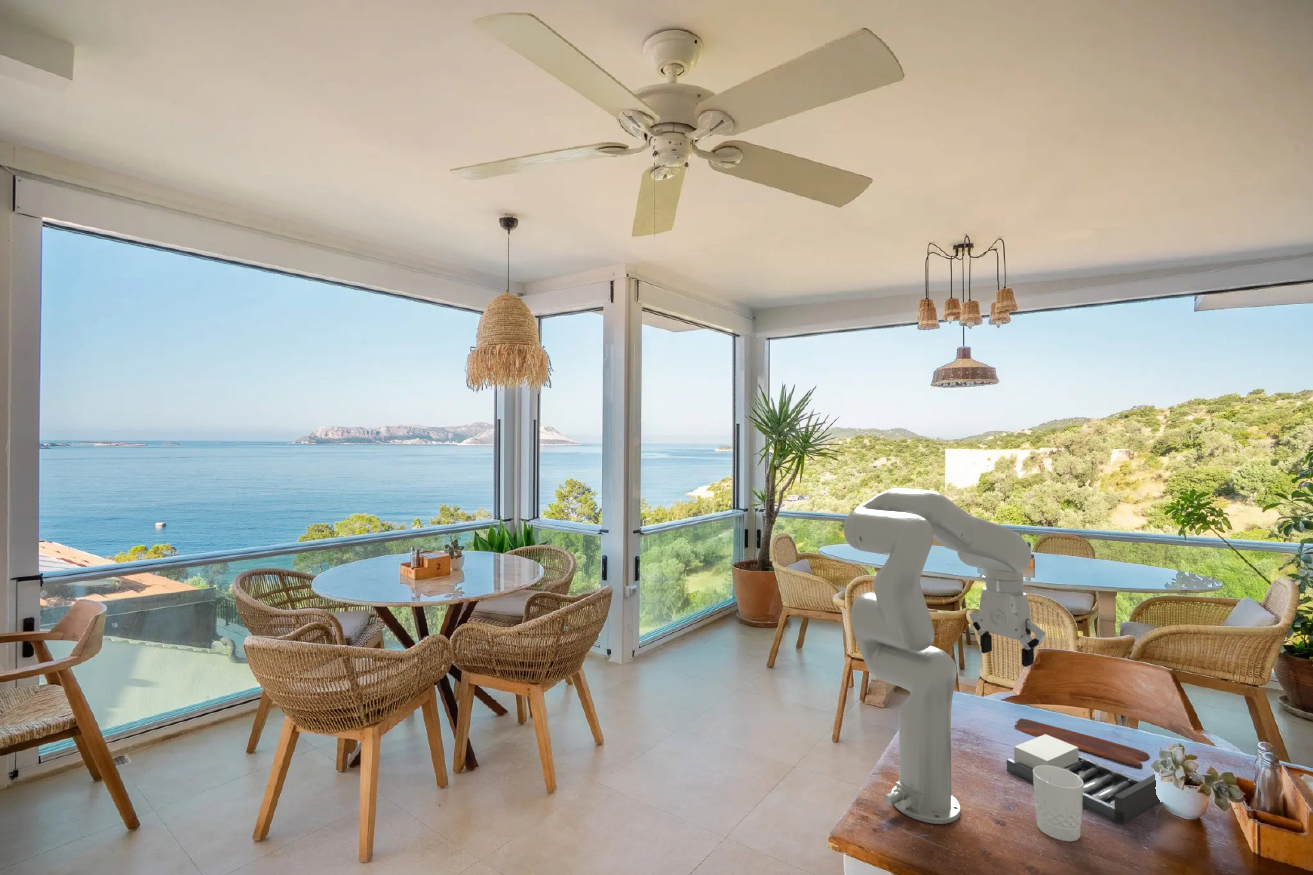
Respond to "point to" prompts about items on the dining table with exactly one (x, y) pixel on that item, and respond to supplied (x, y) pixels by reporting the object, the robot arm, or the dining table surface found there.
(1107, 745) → the wooden tablet
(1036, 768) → the white cup
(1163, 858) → the dining table surface
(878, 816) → the dining table surface
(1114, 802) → the roller track
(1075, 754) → the slab
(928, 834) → the dining table surface
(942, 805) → the robot arm
